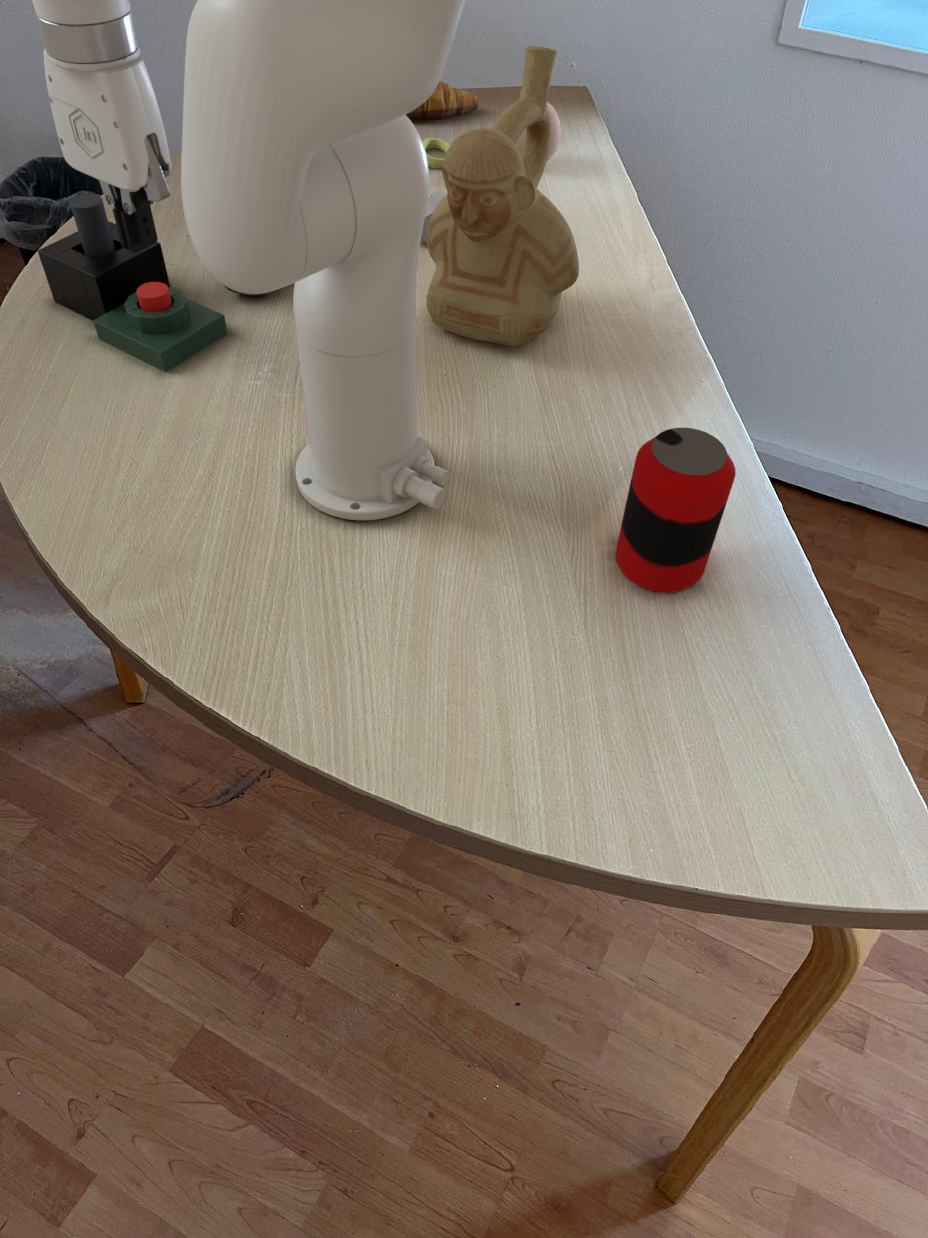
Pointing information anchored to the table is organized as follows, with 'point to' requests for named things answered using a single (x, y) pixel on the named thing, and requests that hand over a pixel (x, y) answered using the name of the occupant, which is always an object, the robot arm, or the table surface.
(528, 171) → the ceramic vessel
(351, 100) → the robot arm
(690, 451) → the soda can
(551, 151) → the egg
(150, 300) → the power button
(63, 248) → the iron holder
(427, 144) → the yellow-green curved piece
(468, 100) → the croissant
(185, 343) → the station
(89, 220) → the soldering iron
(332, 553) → the table surface
